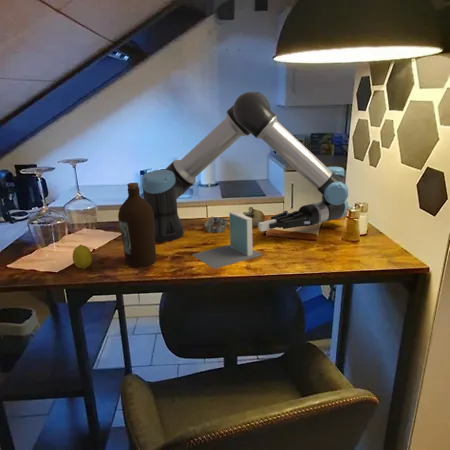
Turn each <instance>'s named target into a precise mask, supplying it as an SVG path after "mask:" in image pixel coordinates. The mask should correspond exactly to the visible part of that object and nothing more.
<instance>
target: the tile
mask: <svg viewBox="0 0 450 450" xmlns="http://www.w3.org/2000/svg"><path fill="white" fill-rule="evenodd" d="M229 240H230V241H229V242H230V244H231V247H232V248H234V249H235V250H237V251H239V252H241V253H243V254H245V255H247V256H250V255H253V250H254V248H253V227H252V218H250V217H247V216H245V215H244V214H243V213H239V212H237V211H230V212H229ZM230 244H229V245H230Z"/></svg>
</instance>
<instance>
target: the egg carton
mask: <svg viewBox="0 0 450 450" xmlns="http://www.w3.org/2000/svg"><path fill="white" fill-rule="evenodd" d="M228 221H229V218H224V217H217V216H216V217H215V216H210V218H209V219H208V220H207V221H206V222H204V227H205V232H206V231H207V233H211V234H212V233H217V234H218V233H219V234H220V233H224V231H225V230H226V228H227V227H228ZM226 226H227V227H226Z"/></svg>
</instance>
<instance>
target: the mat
mask: <svg viewBox="0 0 450 450" xmlns="http://www.w3.org/2000/svg"><path fill="white" fill-rule="evenodd" d="M191 255H192V256H194V257H195V258H196V259H197V260H199V261H201V262H202V263H204V264H206V265H207V266H209V267H210V268H212V269H213V270H216V269H218V268H223V267H226V266H229V265H234V264H237V263H239V262H240V263H241V262H244V261H246V260H250V259H254V258H257V257H259V256H260V257H261V256H263V253H261V252H258V251H257V250H254V249H253V255H250V256H247V255H245V254H243V253H241V252H239V251H237V250H235V249H234V248H232V247H231V244H226V245H223V246H218V247H216V248H215V247H214V248H212V249H208V250H204V251H200V252H196V253H192V254H191Z"/></svg>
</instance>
